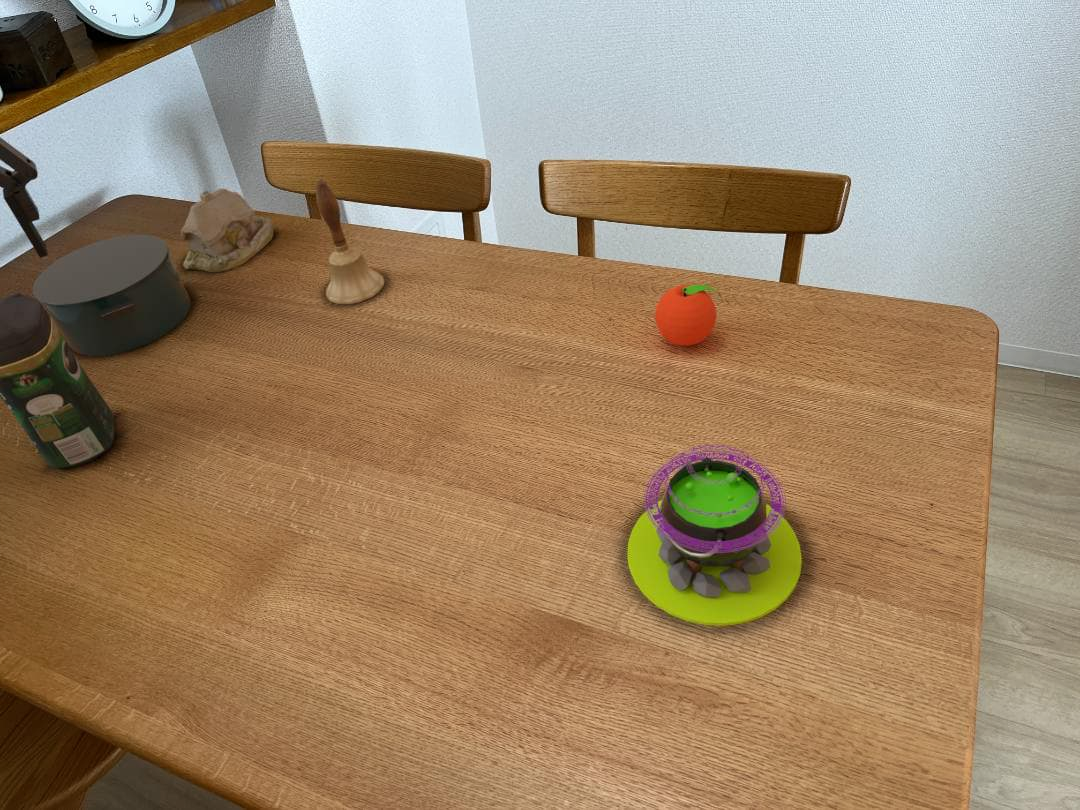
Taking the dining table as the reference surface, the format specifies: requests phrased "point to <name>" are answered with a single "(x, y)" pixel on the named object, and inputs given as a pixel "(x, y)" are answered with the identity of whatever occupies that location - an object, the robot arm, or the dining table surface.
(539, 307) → the dining table surface
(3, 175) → the robot arm
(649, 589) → the toy cauldron
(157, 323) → the teal round box
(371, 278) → the hand bell
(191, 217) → the ceramic model
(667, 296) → the clementine
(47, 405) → the coffee jar
